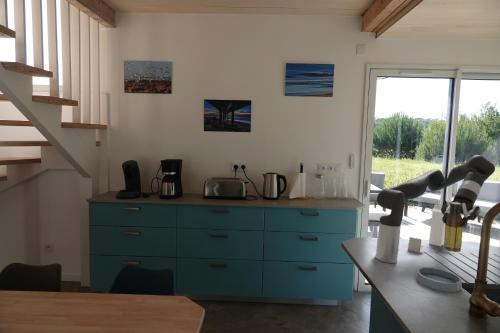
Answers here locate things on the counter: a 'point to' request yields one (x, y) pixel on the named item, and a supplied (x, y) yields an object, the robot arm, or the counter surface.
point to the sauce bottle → (453, 229)
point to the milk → (437, 227)
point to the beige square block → (414, 244)
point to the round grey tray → (439, 279)
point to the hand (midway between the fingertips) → (452, 223)
